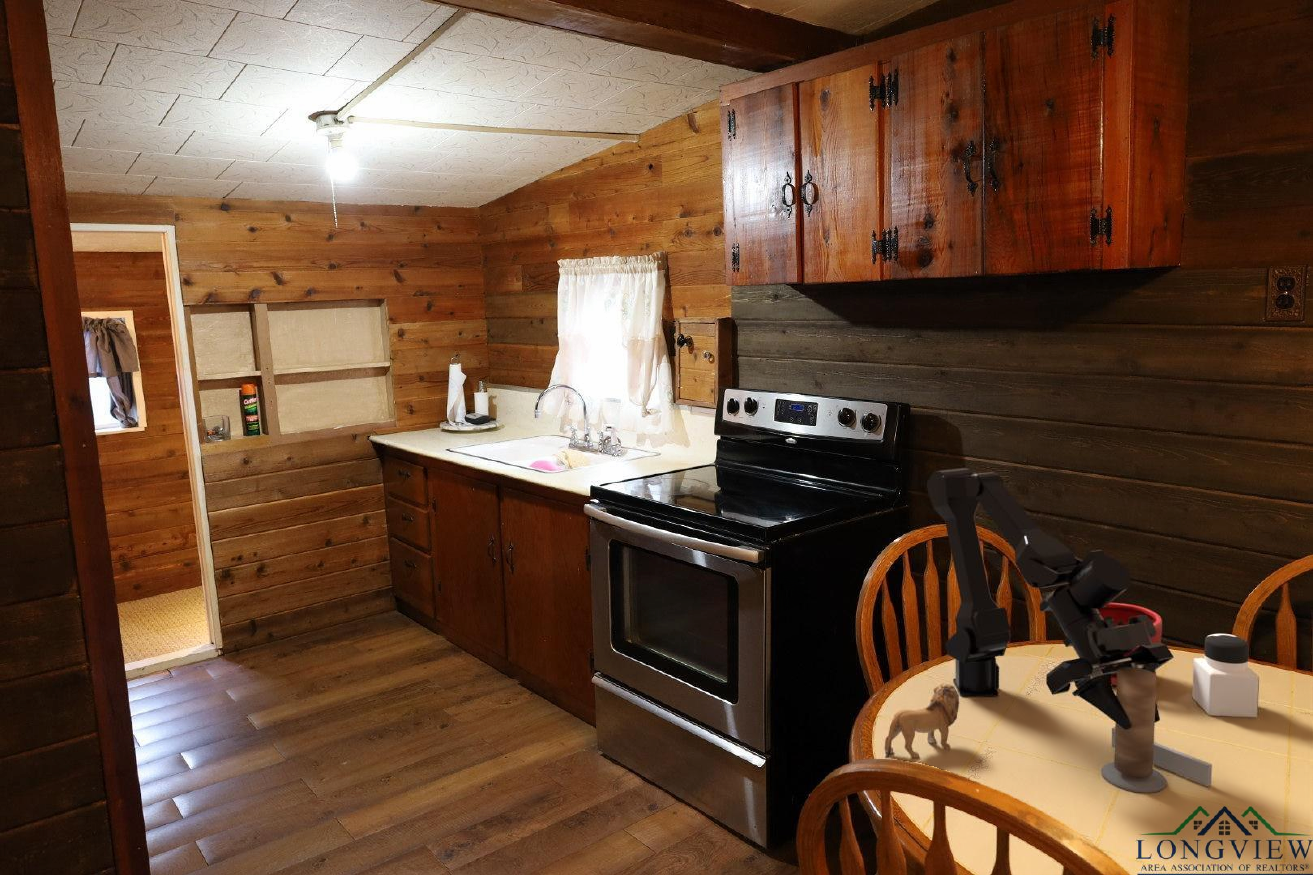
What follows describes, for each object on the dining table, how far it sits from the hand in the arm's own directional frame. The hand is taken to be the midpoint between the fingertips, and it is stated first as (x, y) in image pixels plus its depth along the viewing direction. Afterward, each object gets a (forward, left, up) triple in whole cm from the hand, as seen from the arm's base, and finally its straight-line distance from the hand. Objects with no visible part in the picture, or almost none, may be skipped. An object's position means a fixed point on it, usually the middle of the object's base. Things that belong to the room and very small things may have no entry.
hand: (1143, 724), depth 122 cm
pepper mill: (-1, +1, -7) cm, 7 cm away
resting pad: (-1, +1, -8) cm, 9 cm away
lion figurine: (-28, +9, -9) cm, 31 cm away
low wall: (+4, +5, -8) cm, 11 cm away
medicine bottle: (+22, +25, -9) cm, 35 cm away
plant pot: (+10, +37, -9) cm, 40 cm away
